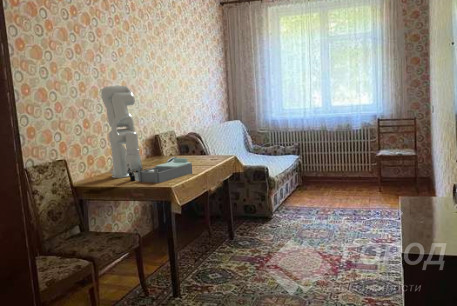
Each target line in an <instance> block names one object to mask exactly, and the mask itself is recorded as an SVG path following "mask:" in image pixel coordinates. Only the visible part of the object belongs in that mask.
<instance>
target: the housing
mask: <svg viewBox="0 0 457 306" xmlns="http://www.w3.org/2000/svg"><path fill="white" fill-rule="evenodd" d="M149 170H154V172H148V171H149ZM157 170H158V171H157ZM186 175H193V164H192V163H191V164H188V165H184V166H181V167H177V168H170V167H156V166H155V167H152V168H148V169H144V170H143V169H142V170H141V169H138V179H139V180H138V183H155V184H160V183H164V182H167V181H169V180H173V179H177V178H180V177H182V176H186Z"/></svg>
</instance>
